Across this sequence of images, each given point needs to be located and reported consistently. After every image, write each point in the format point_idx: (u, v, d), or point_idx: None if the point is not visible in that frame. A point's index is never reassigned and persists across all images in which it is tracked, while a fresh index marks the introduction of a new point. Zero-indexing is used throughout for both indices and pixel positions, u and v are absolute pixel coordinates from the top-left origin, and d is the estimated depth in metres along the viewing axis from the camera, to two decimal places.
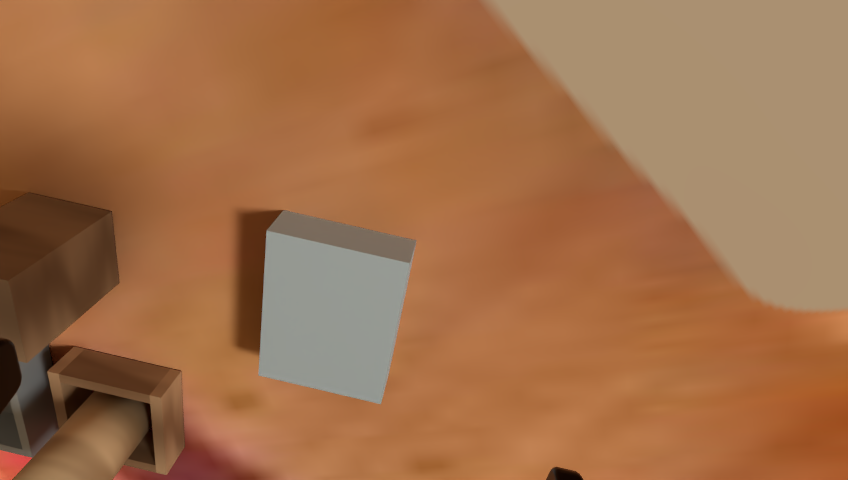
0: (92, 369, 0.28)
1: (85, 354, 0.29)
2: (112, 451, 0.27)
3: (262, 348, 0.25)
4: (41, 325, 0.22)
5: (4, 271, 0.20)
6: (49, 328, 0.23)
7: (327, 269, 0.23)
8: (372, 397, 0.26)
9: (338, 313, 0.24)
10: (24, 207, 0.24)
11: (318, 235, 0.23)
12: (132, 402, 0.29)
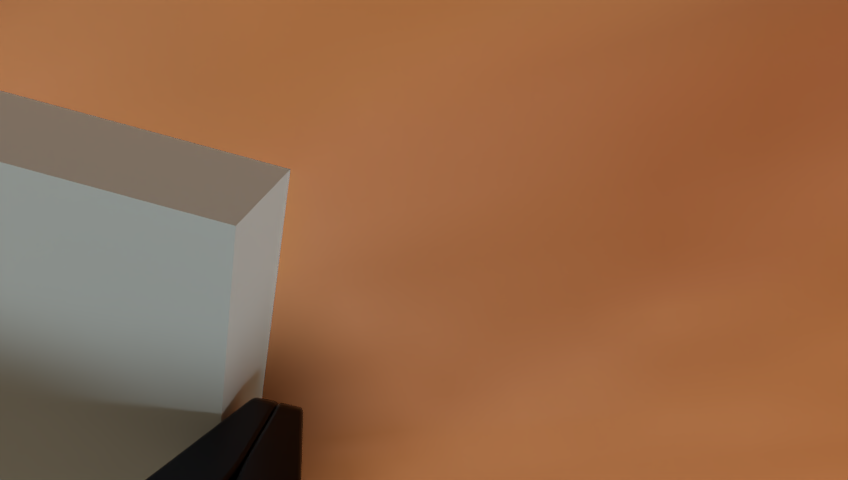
0: None
1: None
2: None
3: None
4: None
5: None
6: None
7: None
8: None
9: (51, 371, 0.08)
10: None
11: None
12: None
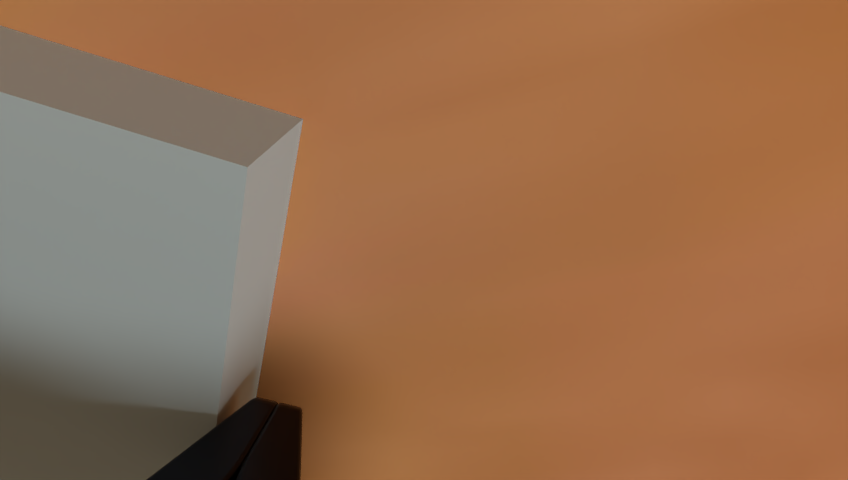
0: None
1: None
2: None
3: None
4: None
5: None
6: None
7: None
8: None
9: (42, 325, 0.08)
10: None
11: None
12: None
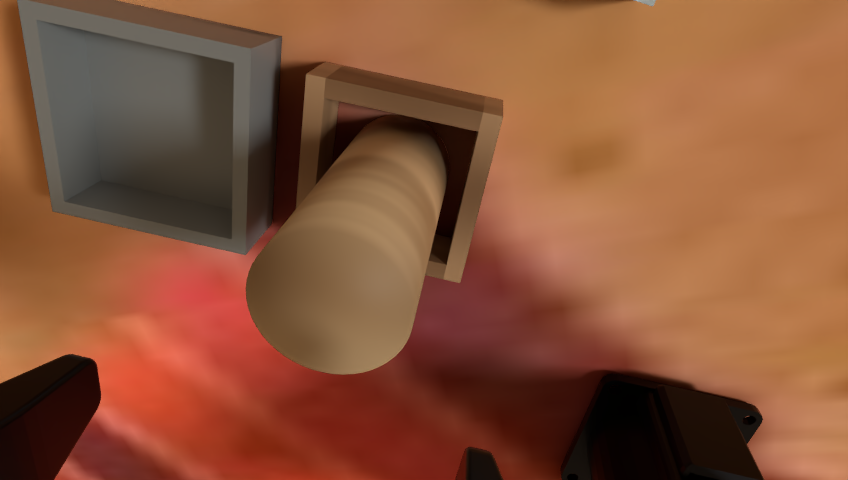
0: (372, 81, 0.17)
1: (347, 69, 0.18)
2: (434, 194, 0.15)
3: None
4: None
5: None
6: None
7: None
8: None
9: None
10: None
11: None
12: (430, 143, 0.17)
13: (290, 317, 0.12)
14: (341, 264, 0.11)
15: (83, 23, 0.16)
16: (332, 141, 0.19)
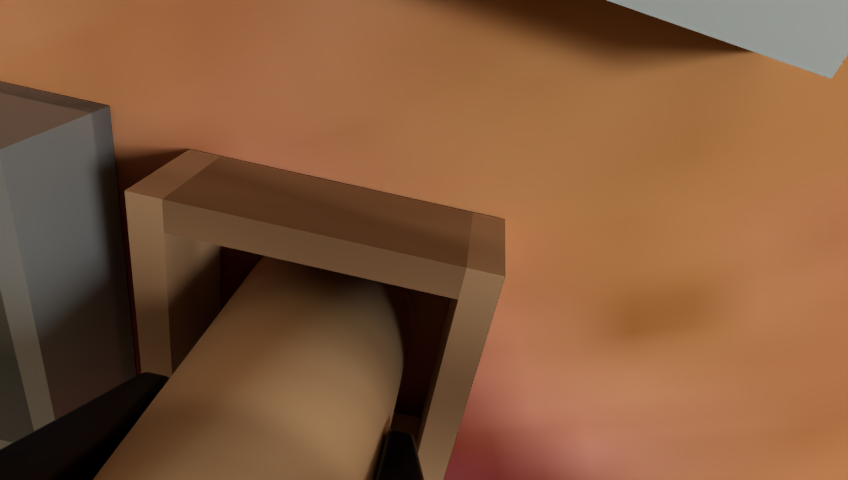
0: (261, 197, 0.09)
1: (225, 166, 0.10)
2: (362, 456, 0.08)
3: None
4: None
5: None
6: None
7: None
8: (812, 41, 0.06)
9: None
10: None
11: None
12: (369, 305, 0.10)
13: None
14: None
15: None
16: (213, 277, 0.11)
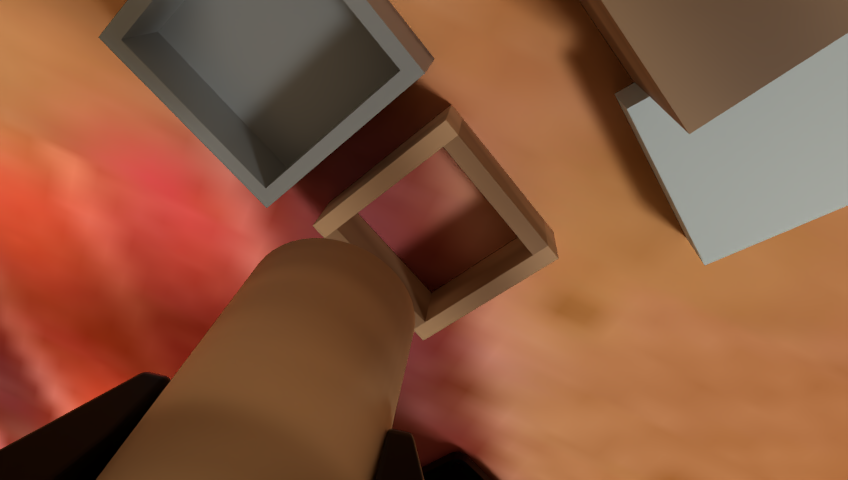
0: (484, 158, 0.18)
1: (466, 127, 0.18)
2: (364, 457, 0.08)
3: None
4: None
5: None
6: None
7: None
8: (708, 250, 0.18)
9: (836, 125, 0.15)
10: None
11: None
12: (371, 305, 0.10)
13: None
14: None
15: None
16: None
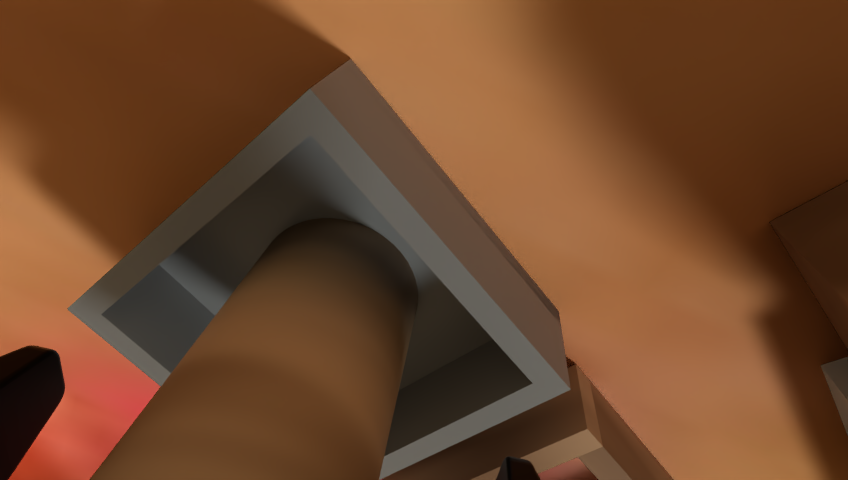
0: (627, 453, 0.12)
1: (597, 397, 0.13)
2: (375, 409, 0.08)
3: None
4: None
5: None
6: None
7: None
8: None
9: None
10: None
11: None
12: (378, 277, 0.10)
13: None
14: None
15: (381, 198, 0.09)
16: None
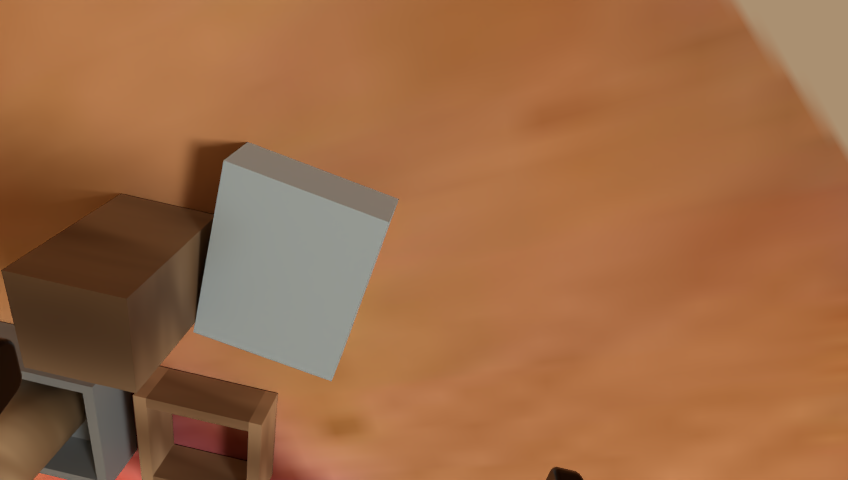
0: (181, 392, 0.25)
1: (170, 374, 0.26)
2: None
3: (201, 301, 0.22)
4: (151, 348, 0.19)
5: (119, 286, 0.17)
6: (157, 351, 0.19)
7: (290, 217, 0.19)
8: (323, 372, 0.23)
9: (297, 271, 0.20)
10: (121, 210, 0.21)
11: (285, 175, 0.19)
12: (27, 387, 0.25)
13: None
14: None
15: None
16: None
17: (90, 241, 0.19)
